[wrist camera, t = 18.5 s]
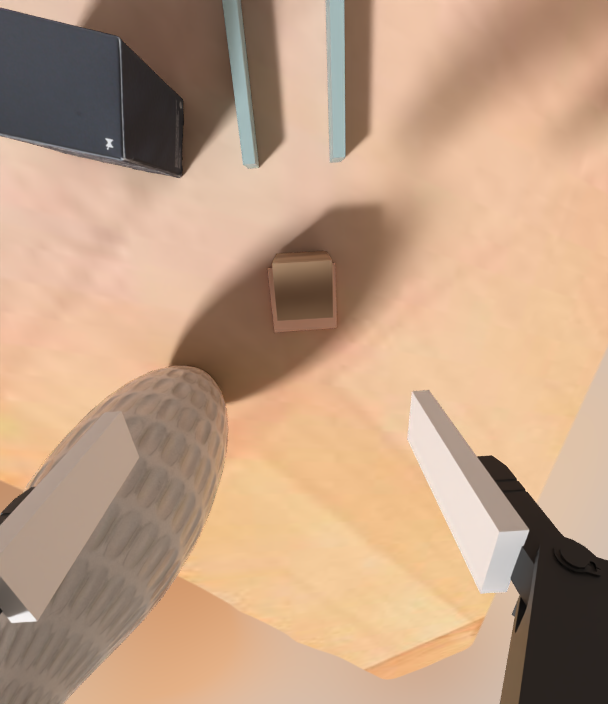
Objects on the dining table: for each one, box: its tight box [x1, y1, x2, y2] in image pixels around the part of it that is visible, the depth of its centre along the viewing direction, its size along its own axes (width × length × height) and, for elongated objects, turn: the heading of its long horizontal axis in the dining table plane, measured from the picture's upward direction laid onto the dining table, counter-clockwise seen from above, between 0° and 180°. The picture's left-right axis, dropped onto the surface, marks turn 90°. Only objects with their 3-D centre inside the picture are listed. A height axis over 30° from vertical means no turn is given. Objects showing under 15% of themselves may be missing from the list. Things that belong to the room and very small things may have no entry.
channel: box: [222, 0, 345, 169], centre depth 23 cm, size 16×8×5 cm, turn 4°
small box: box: [0, 8, 184, 178], centre depth 22 cm, size 11×6×10 cm, turn 79°
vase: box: [0, 366, 229, 704], centre depth 26 cm, size 13×13×28 cm
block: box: [272, 251, 333, 321], centre depth 30 cm, size 5×5×6 cm
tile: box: [267, 263, 337, 332], centre depth 34 cm, size 7×7×1 cm
